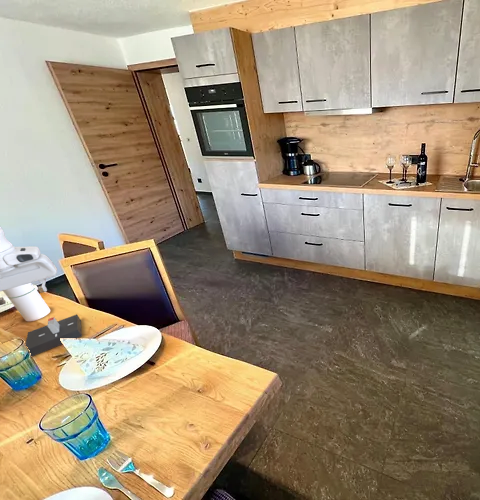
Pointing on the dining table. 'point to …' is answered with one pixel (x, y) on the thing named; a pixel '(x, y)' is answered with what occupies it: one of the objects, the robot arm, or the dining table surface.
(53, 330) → the stove knob
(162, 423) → the dining table surface
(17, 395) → the dining table surface
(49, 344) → the hob panel
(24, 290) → the cylindrical container
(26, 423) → the dining table surface
